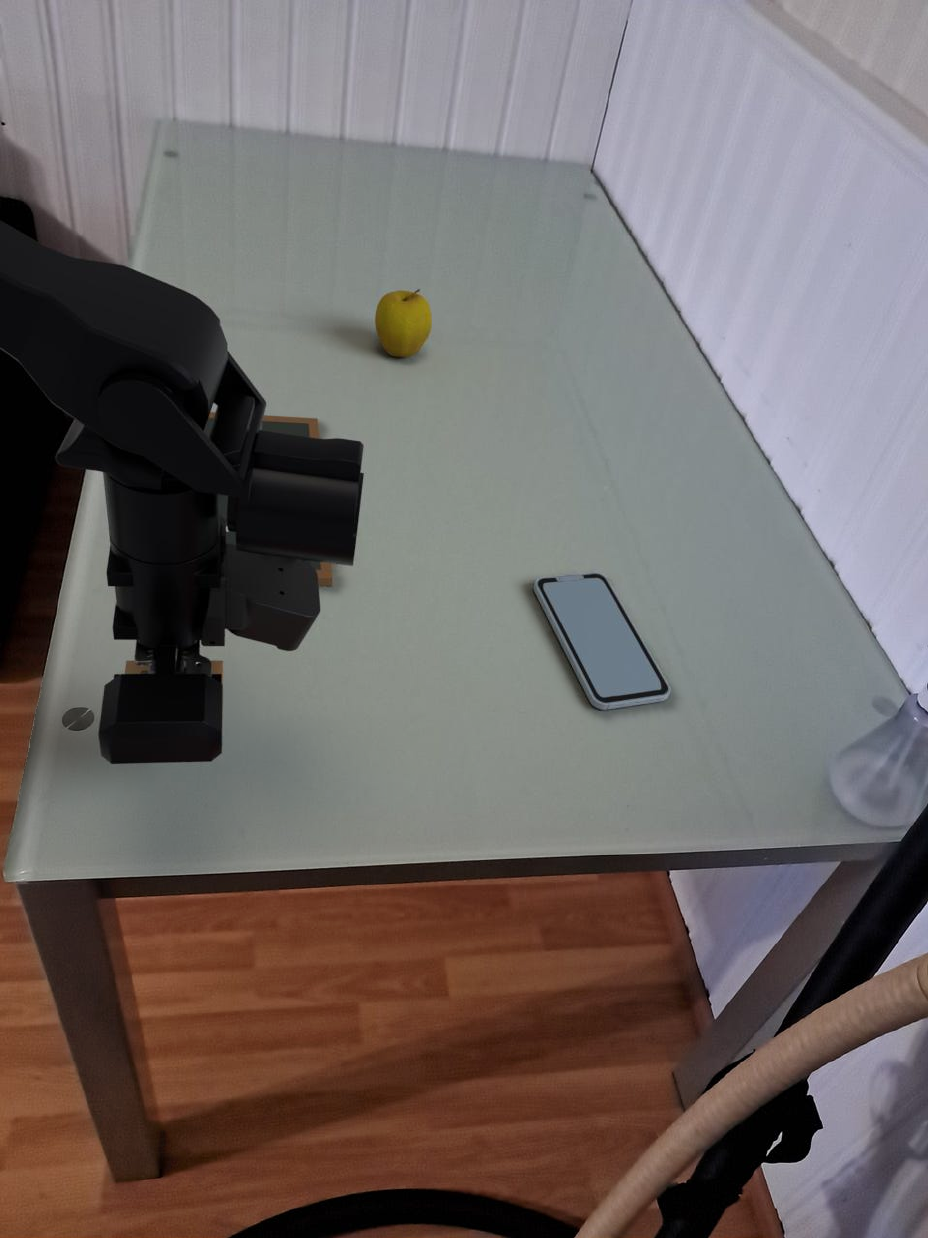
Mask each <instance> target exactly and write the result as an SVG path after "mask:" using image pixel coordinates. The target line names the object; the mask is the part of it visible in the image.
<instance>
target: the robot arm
mask: <svg viewBox="0 0 928 1238" xmlns="http://www.w3.org/2000/svg"><path fill="white" fill-rule="evenodd" d="M0 350H1V351H3V352H4V353H6V354H7V355H9V356H10V357H12V358H13V359H14V360H16V361H17V362H18V363H19V364H20V365H21V366H22V368H23V369H24V370H25V371H26V373H27V374H28V375H29V376H30V378H31V379H32V380H33V381H34V382H35V384H36V385H37V386H38V388H39V389H40V390H41V392H43V394H44V395H45V396H46V398H47V399H48V400H49V401H50V402H51V404H52V405H54V406H55V407H56V408H58V409H59V410H61V411H62V412H64V413H65V414H67V415H68V416H70V417H71V418H72V419H73V421H72V423H71V425H70V427H69V428H68V430H67V432H66V435H65V437H64V439H63V440H62V443H61V445H60V447H59V448H58V450H57V452H56V454H55V461H56V463H57V464H58V465H59V466H60V467H65V468H72V469H80V470H87V471H95V472H100V473H102V475H103V487H104V496H105V505H106V513H107V514H106V515H107V523H108V533H109V534H108V535H109V551H108V557H107V558H108V559H107V566H106V581H107V587H114V594H115V603H114V604H115V605H114V613H113V621H112V635H113V640H114V641H135V649H134V659H133V660H134V661H135V664H136V665H139V666H148V665H150V667H149V671H146V670H144V671H141V672H140V674H125V673H115V674H114V675H113V679H111V680H109V682H107V683H106V684H104V687H103V694H102V701H101V702H102V703H101V710H100V717H99V726H98V733H97V734H98V735H97V736H98V743H99V749H100V756H101V757H102V758H103V759H105V761H107V762H108V763H110V764H111V765H125V764H127V765H129V764H130V765H131V764H165V763H166V764H168V763H169V764H170V763H173V764H174V763H176V764H177V763H211V762H212V761H214V760H216V758H218V757H219V756H220V755H222V754H223V745H222V722H223V723H224V683H223V684H222V674H211V661H212V660H210V659H209V658H208V657H206V656H204V655H202V654H201V646H202V647H226V630H227V631H228V632H230V633H231V634H233V635H234V636H236V637H239V638H243V639H247V640H251V641H256V642H259V643H263V644H266V645H271V646H275V647H276V649H278V650H282V651H284V652H293V651H296V650H297V649H298V648H299V647H300V646H301V644H302V642H303V640H304V639H305V637H306V636H307V634H309V631H310V630H311V628H312V626H313V624H314V623H315V622H316V620H317V618H318V616H319V615H320V613H321V597H320V586H319V583H318V574H317V572H316V570H315V569H314V567H313V566H312V565H311V561H316V562H324V563H331V564H334V565H341V566H349V567H353V566H354V560H355V554H356V553H355V552H356V545H357V536H358V529H359V520H360V511H361V510H360V509H361V503H362V494H363V487H364V486H363V485H364V477H365V476H364V475H365V473H364V472H362V464H363V456H364V443H362V442H361V440H354V439H347V438H339V437H337V438H336V437H334V438H320V439H318V438H311V437H304V436H297V435H290V434H283V433H276V432H269V431H262V420H263V416H264V415H265V412H266V408H267V401H266V399H265V398H264V397H263V395H262V394H261V393H260V391H259V390H258V388H257V387H256V386H255V385H254V384H253V382H252V381H251V379H250V378H249V377H248V375H247V374H246V373H245V371H244V370H243V369H242V367H241V366H240V364H238V362H237V361H236V360H235V358H234V357H233V355H232V354H231V353H230V352H229V350H228V341H227V339H226V336H225V333H224V330H223V327H222V326H221V319H220V318H219V316H218V315H217V313H215V311H214V310H213V309H212V308H211V307H210V306H209V305H207V303H205V302H204V301H203V300H202V299H200V298H199V297H198V296H197V295H194V294H192V293H190V292H188V291H186V290H184V289H182V288H179V287H177V286H174V285H172V284H170V283H167V282H165V281H162V280H160V279H158V278H156V277H153V276H151V275H149V274H145V273H144V272H141V271H139V270H136V269H134V268H133V267H129V266H128V265H124V264H123V265H122V264H118V263H110V262H105V261H98V260H93V259H92V260H90V259H84V258H79V257H73V256H70V255H69V254H68V255H67V254H65V253H62V252H60V251H58V250H57V249H56V250H55V249H53V248H50V247H48V246H46V245H44V244H42V243H40V242H38V241H36V240H35V239H33V238H32V237H30V236H28V235H26V234H25V233H23V232H21V231H20V230H18V229H16V228H15V227H13V226H11V225H9V224H7V223H6V222H4V221H3V220H1V219H0ZM213 405H216V406H217V407H216V410H215V411H214V412H215V415H214V418H213V421H212V424H211V427H210V430H209V434H208V436H207V435H206V434H205V433H204V428H205V426H206V423H207V420H208V418H209V415H210V412H212V409H213ZM220 495H225V496H228V505H227V528H228V531H231V532H236V545H234V544H229V543H226V519H224V518H223V517H222V516H221V515H220ZM185 661H186V667H185Z"/></svg>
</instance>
